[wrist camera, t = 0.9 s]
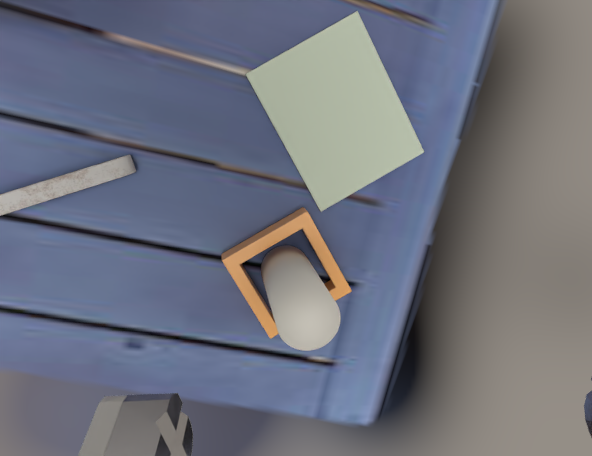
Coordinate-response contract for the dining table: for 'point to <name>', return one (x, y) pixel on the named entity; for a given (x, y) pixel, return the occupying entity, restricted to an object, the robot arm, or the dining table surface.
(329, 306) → the tall white pillar
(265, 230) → the orange square frame
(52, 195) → the wrench
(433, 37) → the dining table surface
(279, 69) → the mat
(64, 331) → the dining table surface
